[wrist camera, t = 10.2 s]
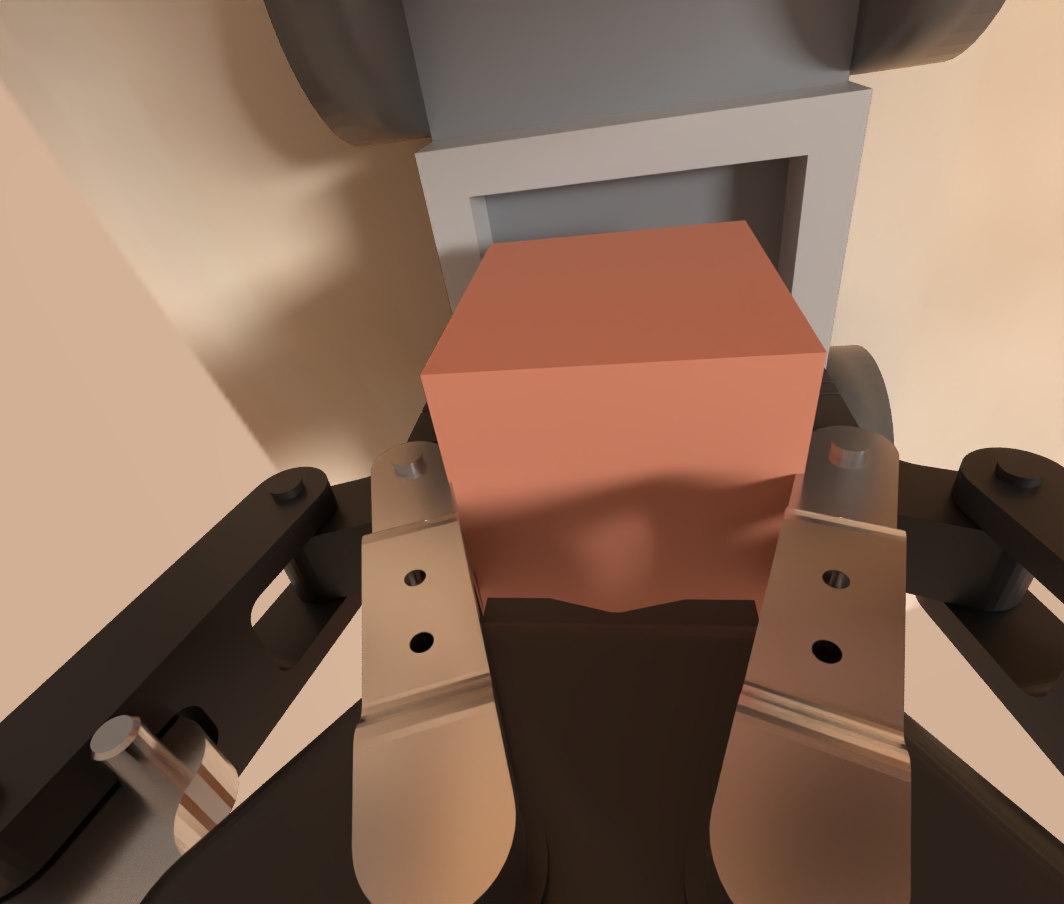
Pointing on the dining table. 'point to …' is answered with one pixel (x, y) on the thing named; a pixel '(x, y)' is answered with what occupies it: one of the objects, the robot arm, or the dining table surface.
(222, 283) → the dining table surface
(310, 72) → the chassis
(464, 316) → the terracotta rectangular box
